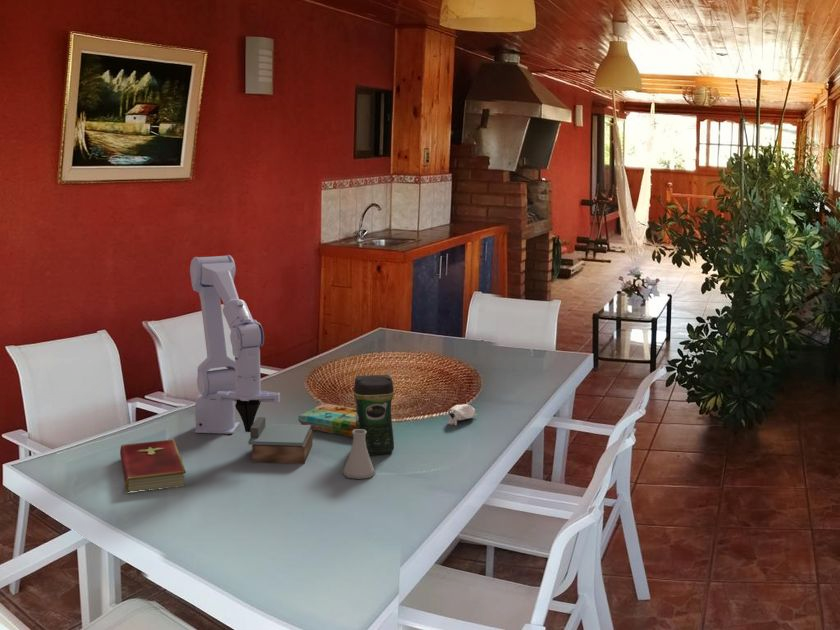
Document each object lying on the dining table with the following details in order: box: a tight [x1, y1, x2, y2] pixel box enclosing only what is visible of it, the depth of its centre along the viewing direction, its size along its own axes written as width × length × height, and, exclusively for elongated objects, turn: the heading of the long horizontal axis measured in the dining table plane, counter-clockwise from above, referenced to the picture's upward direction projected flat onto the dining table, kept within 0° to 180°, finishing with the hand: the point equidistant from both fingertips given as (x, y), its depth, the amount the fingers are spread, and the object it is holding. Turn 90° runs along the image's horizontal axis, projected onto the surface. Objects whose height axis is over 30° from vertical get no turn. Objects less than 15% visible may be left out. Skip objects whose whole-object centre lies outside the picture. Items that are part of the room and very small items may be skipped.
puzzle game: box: [298, 402, 356, 438], centre depth 221 cm, size 12×5×20 cm
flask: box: [342, 429, 376, 480], centre depth 190 cm, size 7×7×10 cm
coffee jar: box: [353, 374, 395, 456], centre depth 204 cm, size 10×8×19 cm
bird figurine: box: [446, 403, 478, 427], centre depth 228 cm, size 5×7×10 cm
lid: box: [248, 416, 312, 446], centre depth 201 cm, size 12×12×3 cm
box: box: [251, 429, 313, 465], centre depth 202 cm, size 12×12×4 cm
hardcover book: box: [119, 439, 186, 493], centre depth 189 cm, size 12×21×4 cm, turn 22°
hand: (249, 430), depth 202 cm, fingers closed
